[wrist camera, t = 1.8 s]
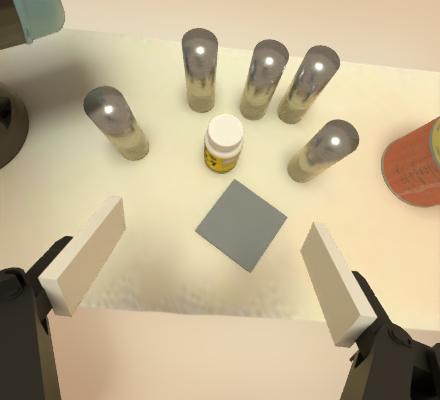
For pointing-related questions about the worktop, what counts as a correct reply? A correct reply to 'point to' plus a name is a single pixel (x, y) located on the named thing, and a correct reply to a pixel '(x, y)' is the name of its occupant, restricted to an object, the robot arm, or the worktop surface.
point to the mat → (241, 225)
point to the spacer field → (250, 105)
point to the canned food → (415, 166)
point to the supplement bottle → (223, 143)
